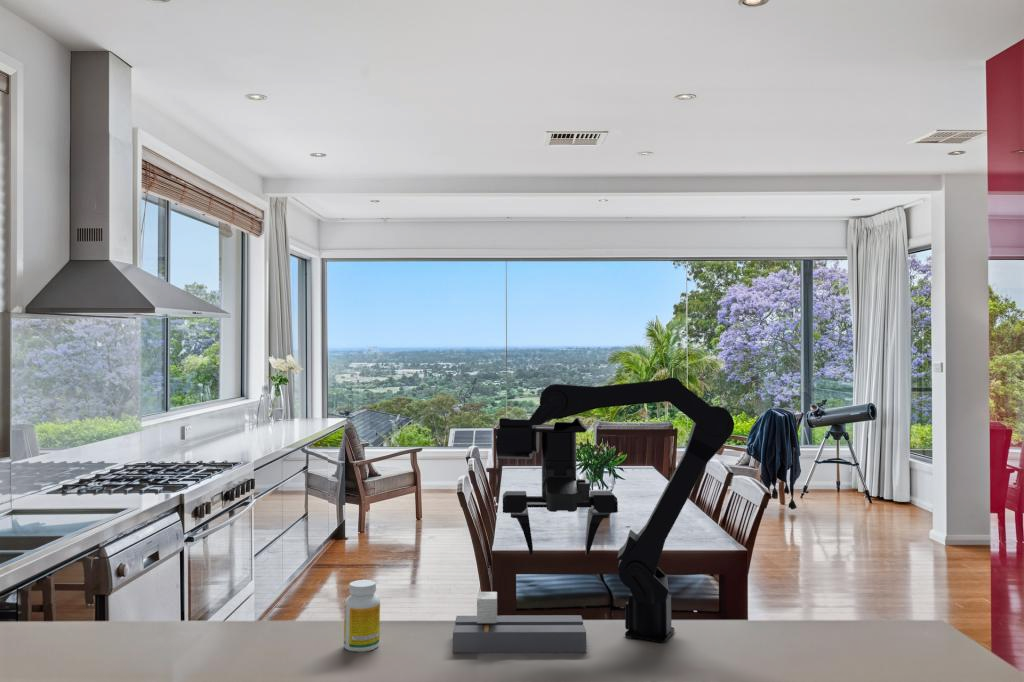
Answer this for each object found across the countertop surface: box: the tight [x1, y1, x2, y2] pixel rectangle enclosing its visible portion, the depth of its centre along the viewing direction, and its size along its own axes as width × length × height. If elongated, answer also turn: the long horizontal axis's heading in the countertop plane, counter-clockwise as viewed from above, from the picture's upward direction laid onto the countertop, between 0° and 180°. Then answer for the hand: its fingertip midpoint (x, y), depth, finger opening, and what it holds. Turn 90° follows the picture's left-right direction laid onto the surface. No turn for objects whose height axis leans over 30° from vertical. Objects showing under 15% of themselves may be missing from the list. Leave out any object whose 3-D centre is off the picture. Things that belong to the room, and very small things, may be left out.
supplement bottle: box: [343, 579, 381, 653], centre depth 114 cm, size 5×5×10 cm
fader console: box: [452, 614, 587, 654], centre depth 116 cm, size 20×8×3 cm, turn 90°
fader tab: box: [476, 591, 498, 625], centre depth 116 cm, size 3×4×6 cm
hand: (559, 554), depth 123 cm, fingers open, 9 cm apart
